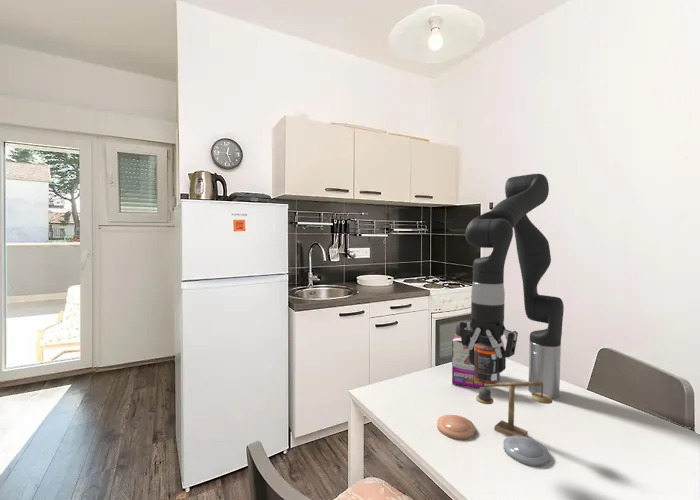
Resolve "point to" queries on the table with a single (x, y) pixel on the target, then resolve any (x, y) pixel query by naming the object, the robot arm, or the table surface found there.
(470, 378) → the candy bar box
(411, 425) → the table surface
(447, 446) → the table surface
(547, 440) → the table surface
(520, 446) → the slate dish
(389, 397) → the table surface
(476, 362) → the supplement bottle
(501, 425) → the balance
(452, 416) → the terracotta dish
